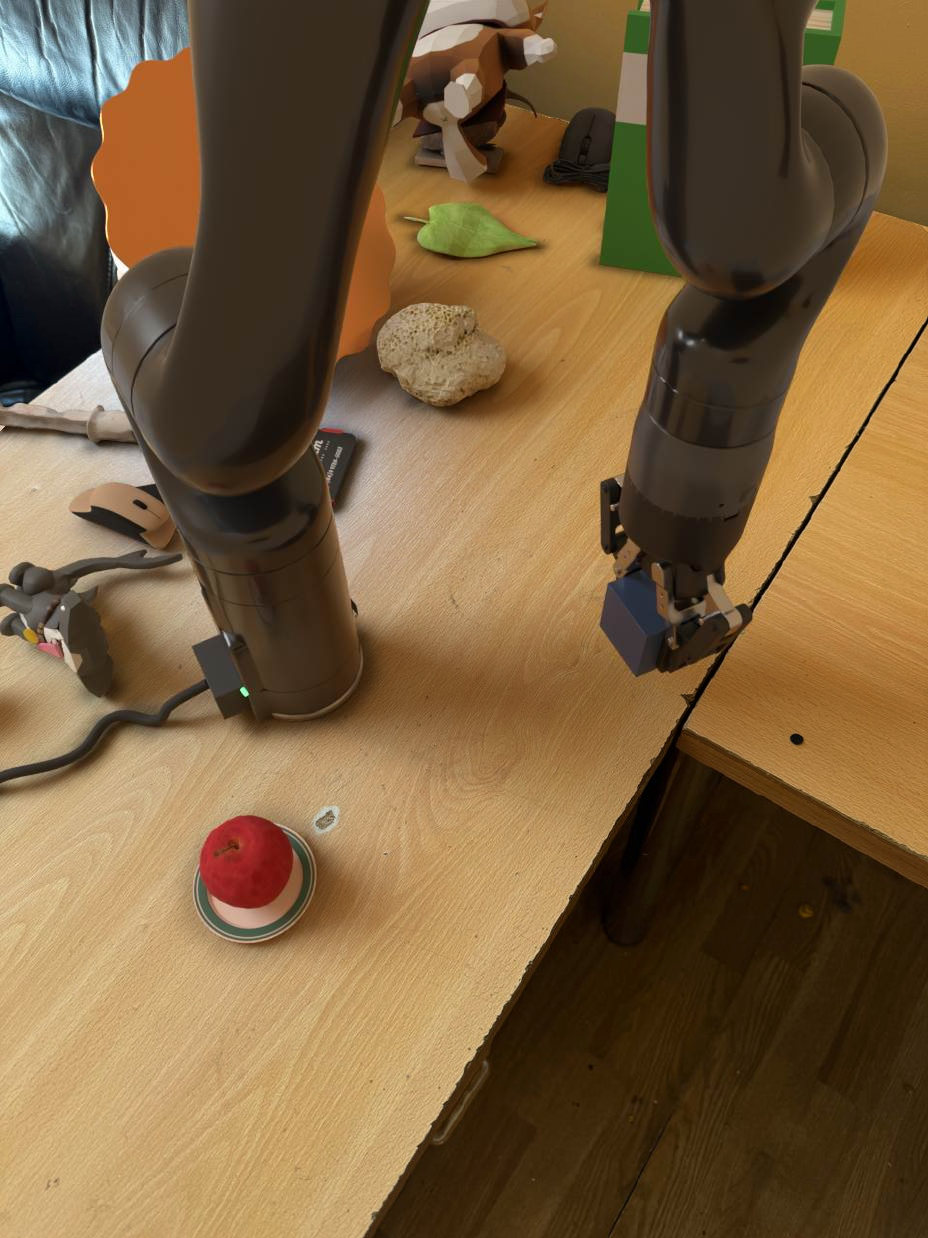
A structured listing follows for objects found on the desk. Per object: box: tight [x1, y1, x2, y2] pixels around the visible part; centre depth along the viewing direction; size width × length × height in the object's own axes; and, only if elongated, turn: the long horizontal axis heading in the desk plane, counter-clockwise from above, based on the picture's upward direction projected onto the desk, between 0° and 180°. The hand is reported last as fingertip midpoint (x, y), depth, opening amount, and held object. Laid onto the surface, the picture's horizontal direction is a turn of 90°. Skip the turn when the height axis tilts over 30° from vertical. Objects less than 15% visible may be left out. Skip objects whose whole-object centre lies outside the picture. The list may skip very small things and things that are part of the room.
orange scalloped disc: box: [90, 46, 397, 364], centre depth 88 cm, size 28×28×18 cm
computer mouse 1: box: [68, 481, 176, 550], centre depth 78 cm, size 6×10×4 cm, turn 64°
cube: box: [598, 569, 690, 678], centre depth 65 cm, size 5×5×5 cm
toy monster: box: [0, 548, 184, 699], centre depth 70 cm, size 14×18×10 cm
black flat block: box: [312, 427, 358, 509], centre depth 82 cm, size 10×1×5 cm
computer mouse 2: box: [541, 106, 616, 193], centre depth 110 cm, size 10×15×4 cm
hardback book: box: [599, 0, 847, 278], centre depth 90 cm, size 18×7×24 cm, turn 74°
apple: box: [192, 814, 318, 944], centre depth 59 cm, size 8×8×6 cm
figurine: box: [414, 87, 538, 174], centre depth 107 cm, size 14×4×9 cm, turn 76°
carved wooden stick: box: [0, 400, 138, 445], centre depth 84 cm, size 25×4×3 cm, turn 79°
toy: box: [391, 0, 558, 184], centre depth 105 cm, size 24×18×30 cm
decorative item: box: [376, 302, 507, 407], centre depth 86 cm, size 12×9×10 cm
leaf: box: [403, 202, 539, 259], centre depth 101 cm, size 9×16×2 cm, turn 66°
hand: (648, 635), depth 67 cm, fingers closed on cube, 5 cm apart
